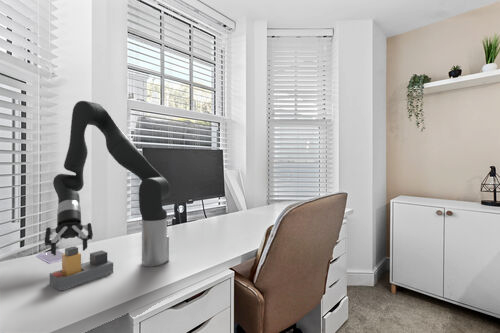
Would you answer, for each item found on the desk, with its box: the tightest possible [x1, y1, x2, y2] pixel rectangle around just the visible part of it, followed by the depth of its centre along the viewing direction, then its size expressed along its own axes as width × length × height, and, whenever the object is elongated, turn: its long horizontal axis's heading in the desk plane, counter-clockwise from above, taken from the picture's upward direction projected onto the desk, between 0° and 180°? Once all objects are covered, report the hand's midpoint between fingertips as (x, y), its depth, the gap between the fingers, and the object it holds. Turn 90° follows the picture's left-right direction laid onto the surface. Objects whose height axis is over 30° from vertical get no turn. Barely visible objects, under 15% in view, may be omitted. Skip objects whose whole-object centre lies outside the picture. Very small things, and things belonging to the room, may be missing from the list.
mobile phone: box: [36, 249, 65, 264], centre depth 105 cm, size 8×1×15 cm
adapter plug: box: [61, 246, 82, 277], centre depth 82 cm, size 4×4×10 cm
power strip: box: [49, 250, 114, 292], centre depth 85 cm, size 16×8×7 cm, turn 146°
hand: (69, 251), depth 90 cm, fingers open, 8 cm apart
